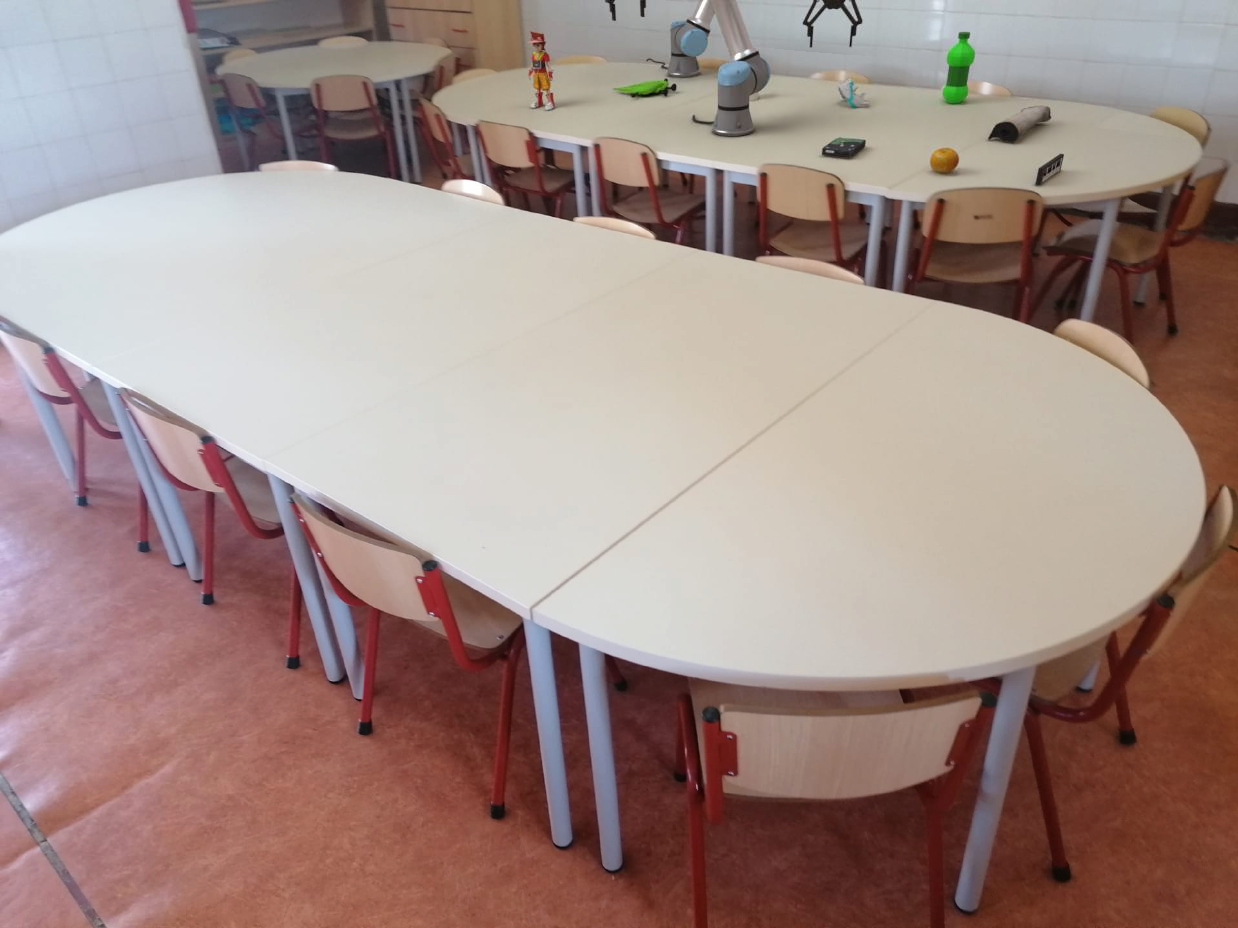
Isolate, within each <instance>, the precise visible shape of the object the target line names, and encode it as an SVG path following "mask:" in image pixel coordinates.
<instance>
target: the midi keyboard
mask: <svg viewBox="0 0 1238 928" xmlns="http://www.w3.org/2000/svg"><path fill="white" fill-rule="evenodd" d="M1064 157H1065V153H1059V154H1058V155H1056V156H1055V157H1052V159H1051V160H1049V161H1047V162H1045V164H1042V165H1041V166H1039V167H1038V169H1037V175H1036V179H1035V186H1040V185H1042V183H1044V182H1045V181H1047V180H1048V179H1049V178H1051V177H1052V176H1054V175H1055V174H1056V173H1058V172H1060V171H1061V170H1062V165H1063V161H1064Z"/></svg>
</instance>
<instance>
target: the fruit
mask: <svg viewBox="0 0 1238 928" xmlns="http://www.w3.org/2000/svg"><path fill="white" fill-rule="evenodd" d="M959 163H960V156H959V154H958V152H957V151H956V150H955V149H953V148H951V147H942V148H938V149H936V150H934V151H933V153H932V154H931V155H930V159H929V166H930V168H931V169H932V170H933V171H934V172H936V173H939V174H940V173H943V174H944V173H945V174H946V173H951V172H953V171H954V170H956V168H957V167H958V165H959Z"/></svg>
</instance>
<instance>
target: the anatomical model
mask: <svg viewBox="0 0 1238 928" xmlns="http://www.w3.org/2000/svg"><path fill="white" fill-rule="evenodd" d="M853 86H854V87H853ZM858 89H859V86H855V83H854V81H853V80H851V78H846V80H845V82H844V83H840V84H838V87H837V90H838V92H839V95H840V96H841V98H842V100H846V101H847V102H848V104H849V105H850V107H851V108H858V107H860V106H869V105H870V104H871V103H870V101H865V100H864V97H865V95H867V92H865V91H863V92H861V93H860V94H856V91H857V90H858Z"/></svg>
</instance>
